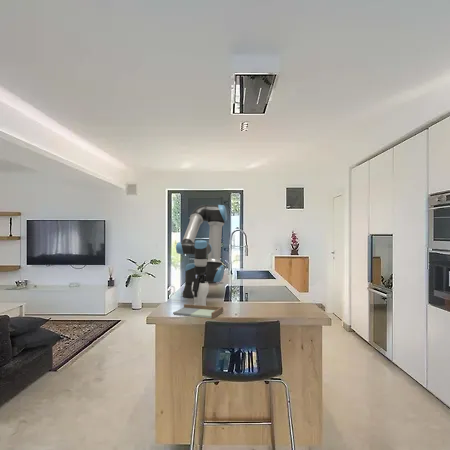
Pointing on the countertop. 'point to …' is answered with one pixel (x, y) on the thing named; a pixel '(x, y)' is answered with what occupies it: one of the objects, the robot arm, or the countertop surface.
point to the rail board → (199, 311)
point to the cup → (202, 293)
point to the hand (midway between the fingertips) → (200, 300)
